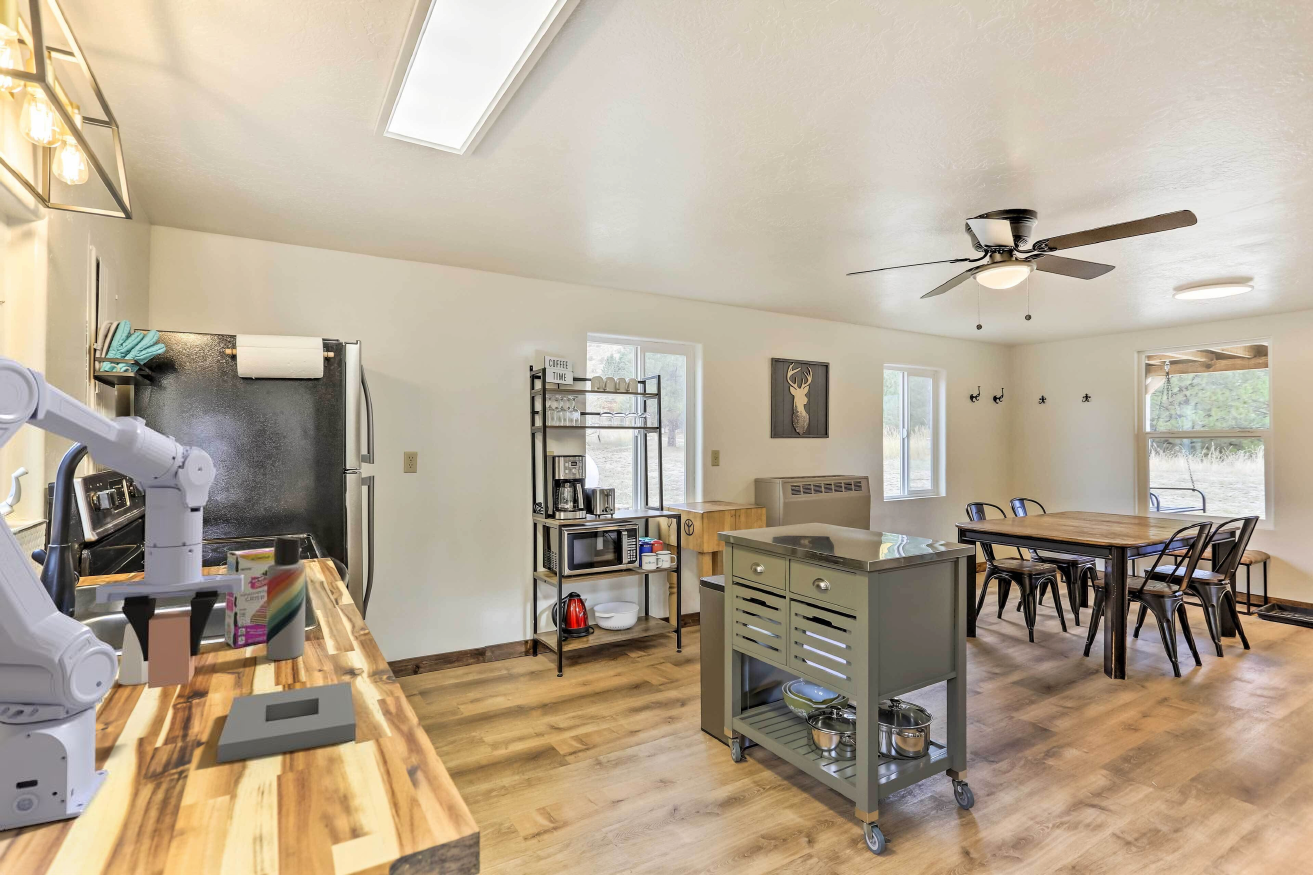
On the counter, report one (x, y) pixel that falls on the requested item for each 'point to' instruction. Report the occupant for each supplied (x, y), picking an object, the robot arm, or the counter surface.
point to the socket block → (287, 721)
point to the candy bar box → (248, 597)
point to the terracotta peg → (170, 649)
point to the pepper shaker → (132, 660)
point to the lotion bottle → (285, 601)
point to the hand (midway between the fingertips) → (172, 656)
